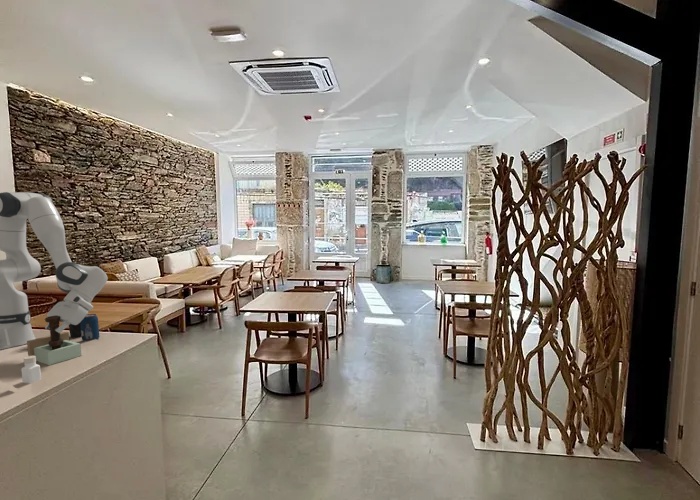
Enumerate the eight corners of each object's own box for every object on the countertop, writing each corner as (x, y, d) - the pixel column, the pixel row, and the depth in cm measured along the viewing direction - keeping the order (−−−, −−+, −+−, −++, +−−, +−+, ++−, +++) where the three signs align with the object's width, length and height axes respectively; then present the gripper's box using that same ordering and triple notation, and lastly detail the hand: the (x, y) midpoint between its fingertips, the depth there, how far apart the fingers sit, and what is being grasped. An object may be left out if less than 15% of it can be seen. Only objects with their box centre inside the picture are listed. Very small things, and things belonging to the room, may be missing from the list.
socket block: (81, 355, 164) (80, 343, 163) (49, 365, 154) (47, 352, 153) (67, 351, 170) (66, 339, 169) (34, 360, 160) (33, 348, 159)
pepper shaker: (34, 380, 142) (31, 354, 141) (42, 382, 141) (39, 355, 140) (22, 385, 138) (19, 358, 137) (30, 386, 137) (27, 359, 136)
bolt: (55, 356, 159) (52, 318, 158) (44, 355, 160) (41, 318, 159) (68, 351, 165) (65, 315, 164) (58, 350, 166) (54, 314, 165)
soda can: (95, 337, 192) (93, 312, 191) (102, 339, 188) (100, 314, 187) (79, 341, 187) (77, 316, 185) (85, 344, 183) (83, 318, 181)
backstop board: (93, 359, 162) (91, 337, 161) (53, 372, 150) (51, 348, 149) (66, 351, 172) (64, 331, 172) (27, 362, 160) (25, 340, 159)
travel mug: (74, 338, 191) (70, 297, 189) (66, 336, 195) (62, 295, 193) (91, 334, 197) (88, 294, 195) (83, 332, 201) (80, 292, 199)
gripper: (57, 295, 172) (32, 323, 164) (83, 299, 161) (57, 329, 154) (70, 303, 176) (46, 331, 168) (95, 308, 165) (71, 338, 158)
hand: (52, 330), depth 161 cm, fingers open, 7 cm apart
